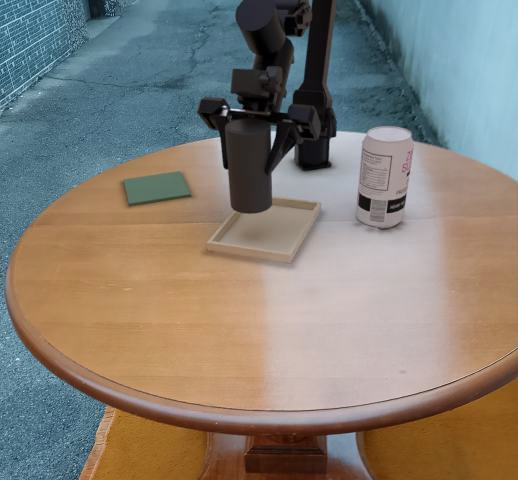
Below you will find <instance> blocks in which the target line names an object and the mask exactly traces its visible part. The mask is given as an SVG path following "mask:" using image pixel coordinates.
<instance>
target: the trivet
mask: <svg viewBox="0 0 518 480" xmlns="http://www.w3.org/2000/svg"><path fill="white" fill-rule="evenodd" d="M122 181H123V185H124V189H125V194H126V198H127V202H128V206H129V207H135V206H141V205H147V204H154V203H161V202H167V201H173V200H178V199H179V200H180V199H185V198H191V197H192V194H191V191H190V189H189V187H188V185H187V183H186V180H185V178H184V176H183V174H182V172H181V171H180V170H177V171H172V172H165V173H158V174H152V175H151V174H149V175H144V176H137V177H130V178H123V179H122Z"/></svg>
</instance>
